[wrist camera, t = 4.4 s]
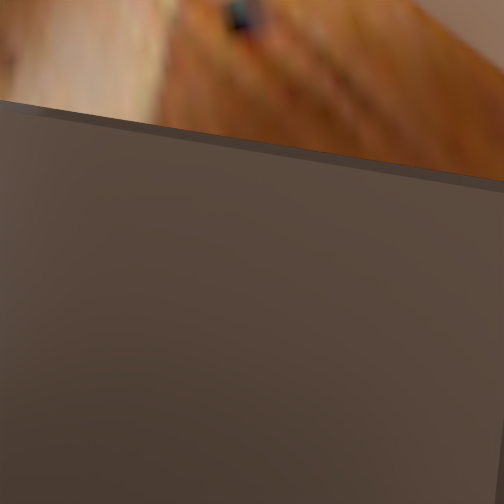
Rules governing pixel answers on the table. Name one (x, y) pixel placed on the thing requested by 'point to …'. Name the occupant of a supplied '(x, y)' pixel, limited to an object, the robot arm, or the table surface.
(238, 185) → the plug
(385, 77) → the table surface
